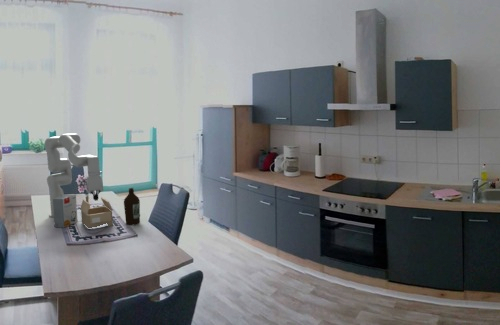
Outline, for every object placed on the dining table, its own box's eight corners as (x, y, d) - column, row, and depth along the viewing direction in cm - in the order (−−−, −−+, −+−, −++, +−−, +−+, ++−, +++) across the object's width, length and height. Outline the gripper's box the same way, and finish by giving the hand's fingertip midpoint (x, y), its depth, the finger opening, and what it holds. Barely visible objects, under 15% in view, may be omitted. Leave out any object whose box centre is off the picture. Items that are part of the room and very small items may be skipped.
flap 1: (81, 209, 280) (80, 209, 280) (84, 199, 281) (83, 199, 280) (87, 214, 267) (86, 214, 267) (90, 204, 267) (89, 204, 267)
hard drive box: (64, 228, 273) (61, 199, 270) (54, 227, 274) (51, 198, 271) (78, 221, 288) (76, 194, 285) (68, 220, 289) (66, 193, 286)
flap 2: (100, 197, 287) (101, 197, 288) (104, 205, 290) (105, 205, 290) (107, 202, 274) (108, 201, 274) (111, 210, 276) (112, 210, 277)
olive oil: (121, 224, 280) (119, 189, 276) (132, 220, 289) (130, 186, 286) (133, 226, 275) (131, 190, 272) (143, 222, 285) (142, 187, 281)
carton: (81, 223, 283) (80, 209, 282) (105, 219, 292) (104, 206, 291) (88, 230, 267) (87, 215, 266) (113, 225, 277) (112, 211, 275)
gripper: (103, 172, 282) (105, 197, 284) (81, 174, 273) (83, 201, 276) (106, 173, 276) (108, 199, 278) (83, 176, 267) (86, 203, 270)
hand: (96, 200), depth 277 cm, fingers closed
